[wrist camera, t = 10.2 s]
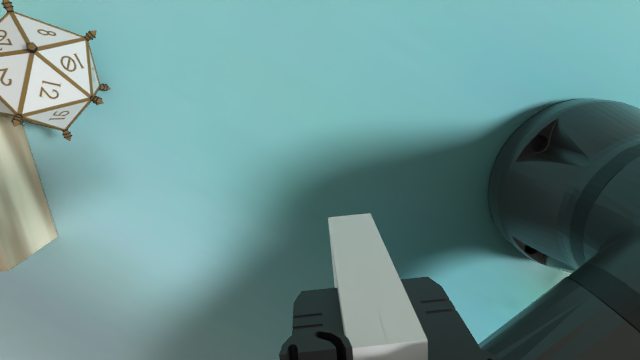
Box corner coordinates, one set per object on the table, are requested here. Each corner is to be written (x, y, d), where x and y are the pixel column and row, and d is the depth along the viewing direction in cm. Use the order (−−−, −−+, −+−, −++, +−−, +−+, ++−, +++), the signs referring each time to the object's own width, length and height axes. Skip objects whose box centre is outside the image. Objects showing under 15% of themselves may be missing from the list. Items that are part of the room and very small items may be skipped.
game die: (73, 73, 34) (-88, 39, 26) (122, 10, 30) (-50, -55, 22) (99, 162, 32) (-67, 157, 24) (155, 107, 28) (-20, 77, 19)
